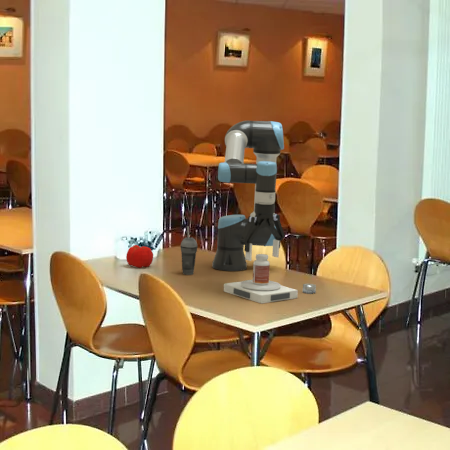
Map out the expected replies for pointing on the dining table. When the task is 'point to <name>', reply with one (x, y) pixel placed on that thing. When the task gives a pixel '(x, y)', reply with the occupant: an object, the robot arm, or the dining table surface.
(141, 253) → the tomato
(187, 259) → the beverage cup
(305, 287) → the shiny grey dome
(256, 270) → the pill bottle
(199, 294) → the dining table surface
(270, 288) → the scale
